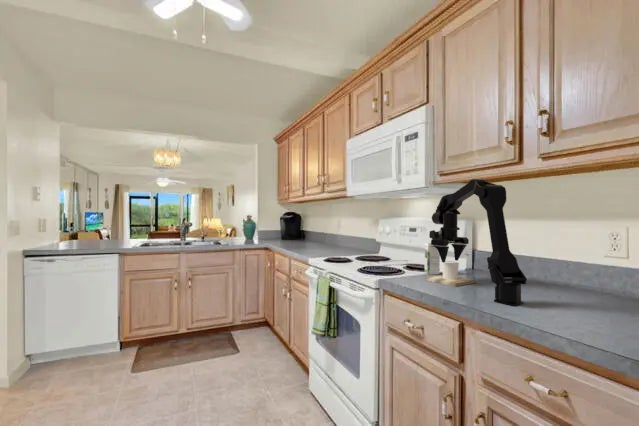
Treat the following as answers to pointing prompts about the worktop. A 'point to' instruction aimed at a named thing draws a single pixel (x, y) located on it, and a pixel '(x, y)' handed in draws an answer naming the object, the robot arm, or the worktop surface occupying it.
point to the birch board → (455, 283)
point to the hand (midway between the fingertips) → (450, 261)
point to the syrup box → (431, 259)
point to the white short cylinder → (450, 270)
